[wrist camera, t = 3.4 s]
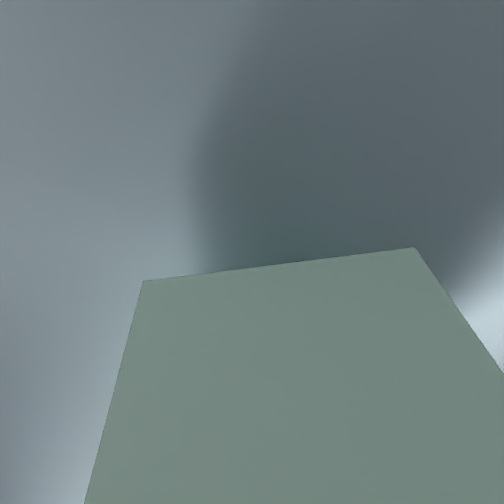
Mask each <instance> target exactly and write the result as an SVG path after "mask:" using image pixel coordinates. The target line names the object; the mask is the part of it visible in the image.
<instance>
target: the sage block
mask: <svg viewBox="0 0 504 504" xmlns="http://www.w3.org/2000/svg"><path fill="white" fill-rule="evenodd" d="M84 504H504V374H503V372H502V371H501V369H500V368H499V366H498V365H497V364H496V362H495V361H494V359H493V358H492V356H491V355H490V354H489V352H488V351H487V349H486V348H485V346H484V345H483V344H482V342H481V341H480V339H479V338H478V337H477V335H476V334H475V332H474V331H473V329H472V328H471V327H470V325H469V324H468V322H467V321H466V319H465V318H464V317H463V315H462V314H461V312H460V311H459V309H458V308H457V307H456V305H455V304H454V302H453V301H452V300H451V298H450V297H449V295H448V294H447V292H446V291H445V290H444V288H443V287H442V285H441V284H440V282H439V281H438V280H437V278H436V277H435V275H434V274H433V272H432V271H431V270H430V268H429V267H428V265H427V264H426V263H425V261H424V260H423V258H422V257H421V255H420V254H419V253H418V251H417V250H416V248H415V247H412V248H404V249H396V250H388V251H380V252H372V253H364V254H356V255H348V256H340V257H332V258H325V259H317V260H309V261H301V262H293V263H285V264H277V265H269V266H261V267H253V268H245V269H237V270H229V271H221V272H213V273H205V274H197V275H189V276H181V277H173V278H165V279H157V280H149V281H143V283H142V287H141V291H140V294H139V298H138V302H137V306H136V309H135V313H134V317H133V321H132V325H131V328H130V332H129V336H128V340H127V343H126V347H125V351H124V355H123V358H122V362H121V366H120V370H119V374H118V377H117V381H116V385H115V389H114V392H113V396H112V400H111V404H110V407H109V411H108V415H107V419H106V423H105V426H104V430H103V434H102V438H101V441H100V445H99V449H98V453H97V456H96V460H95V464H94V468H93V472H92V475H91V479H90V483H89V487H88V490H87V494H86V498H85V502H84Z"/></svg>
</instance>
